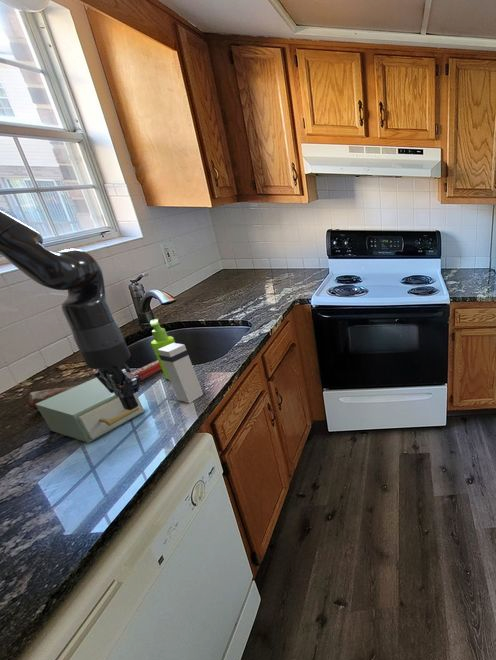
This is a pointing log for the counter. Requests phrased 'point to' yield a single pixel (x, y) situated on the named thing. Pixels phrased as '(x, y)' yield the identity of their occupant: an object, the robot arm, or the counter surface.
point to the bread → (44, 395)
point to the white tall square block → (180, 372)
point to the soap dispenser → (160, 341)
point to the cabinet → (75, 408)
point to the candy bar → (147, 370)
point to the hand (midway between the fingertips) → (131, 407)
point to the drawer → (107, 417)
